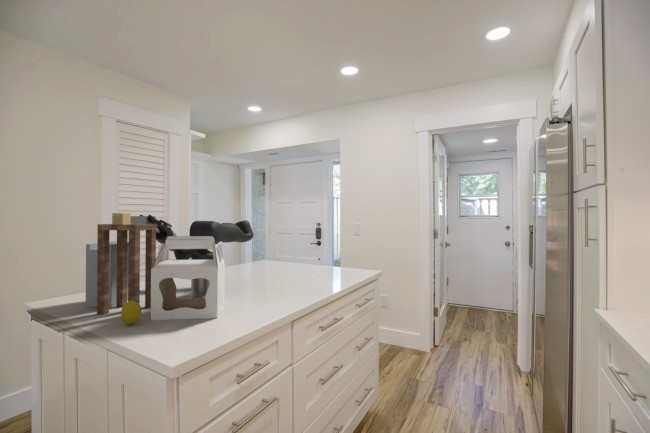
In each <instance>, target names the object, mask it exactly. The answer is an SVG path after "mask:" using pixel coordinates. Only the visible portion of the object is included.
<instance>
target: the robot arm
mask: <svg viewBox="0 0 650 433" xmlns="http://www.w3.org/2000/svg"><path fill="white" fill-rule="evenodd" d="M139 216H144V215H143V214H139ZM147 216H148V218H147V219H148V220H149V221H150V222H151V223H152V224H156V241H157V242H158V243H159V245H164V244H166V241H165V240H166V239H167V237H168V236H178V235H177V234H176V232H175V231H174V230H173V229H172V228H173V227H172V226H173V225H172V224H171V223H168V222H167V221H165V220H163V219H159V220H158V218H156V217H155V218H154V217H153V216H154V215H152V214H148V215H147ZM141 231H142V232H143V231H144V230H141ZM188 234H189V235H188V236H213V237H214V240H215V244H217V245H219V243H220V242H221V243H233V242H234V243H247V242H249V241H251V240H252V239H253V238H254V231H253V229H252V226H251V223H250V221H249V220H241V221H237V222H235V223H233V222H222V223H220V222H217V221H214V220H194V221H193V222H192V223H191V224H190V227H189V233H188ZM168 251H170V252H173V254H174V257H175V260H185V259H213V251H211V250H210V249H172V250H171V249H169V250H168ZM190 280H191V281H190V283H191V284H190V285H191V287H190V298H204V299H205V296H206V293H207V290H208V288H209V285H210V282H209V280H207V279H205V278H196V279H190Z"/></svg>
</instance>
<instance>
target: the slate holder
mask: <svg viewBox="0 0 650 433" xmlns="http://www.w3.org/2000/svg"><path fill="white" fill-rule="evenodd" d="M128 252H129V241H128V245H127V302H128ZM116 282H117V240H116V241H115V240H114V241H109V308H112V307H114V306H116ZM85 307H90V308H94V307H95V308H97V242H96V243H87V244H86V243H85Z"/></svg>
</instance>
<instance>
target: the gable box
mask: <svg viewBox="0 0 650 433" xmlns="http://www.w3.org/2000/svg"><path fill="white" fill-rule="evenodd" d="M165 241H166V244H164V245H162V244H159V245H158V252H157V253H158V254H157V255H156V260H155V262H154V264H153V266H152V268H151V308H150V321H177V320H200V319H201V320H202V319H203V320H204V319H205V320H207V319H208V320H209V319H218V318H219V316H220V315H221V313H222V311H223V310H224V309H225V304H226V303H225V298H226V295H225V294H226V290H225V289H226V287H225V284H226V283H225V282H226V280H225V279H226V264H225V263H226V262H225V259H224V257H223V251H222V248H223V247H222V244H215V240H214V237H213V236H189V235H185V236H184V235H177V236H168V237H167V239H166V240H165ZM169 249H171V250H172V249H207V250H212V252H213V259H191V258H190V259H185V260H176V259H168V252H169V251H170V250H169ZM196 278H205V279H207V280H209V282H210V285H209V288H208V290H207V293H206V296H205V299H204V298H191V297H189V298H186V299H178V298H177V292H178V290H177V286H176V283H175V281H174V279H181V280H191V279H196Z"/></svg>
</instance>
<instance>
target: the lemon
mask: <svg viewBox="0 0 650 433" xmlns="http://www.w3.org/2000/svg"><path fill="white" fill-rule="evenodd" d="M141 315H142V308H141V304H140V305H139V303H138V302H136V301H133V300H130V301H129V302H128V301H127V303H126V304H124V306H123V307H121V311H120V317H121V320H122V321H123V322H124V323H126V324H128V325H130V326H132V325H133V324H134V323H136V322H137V321H139V319H140V318H141Z"/></svg>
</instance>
